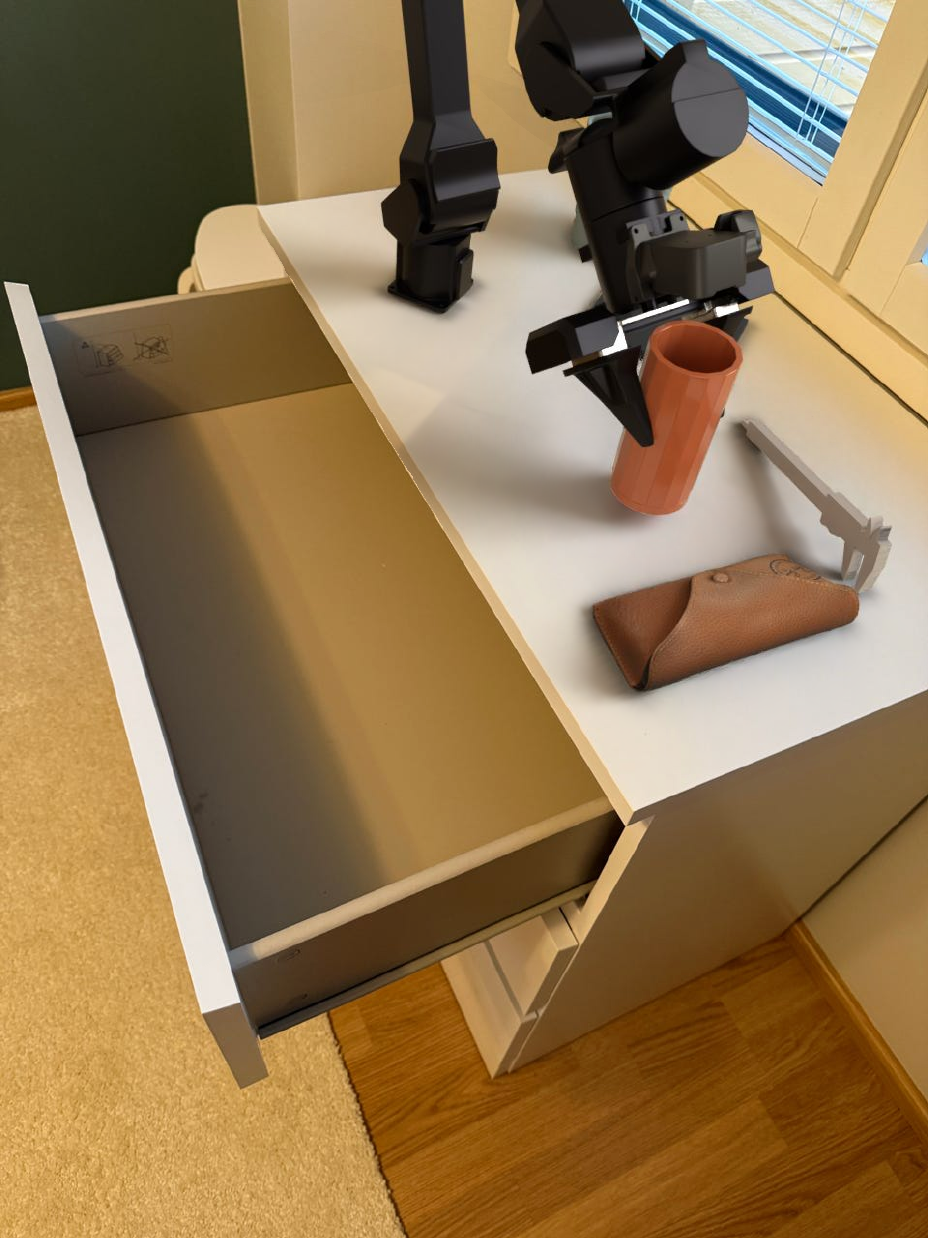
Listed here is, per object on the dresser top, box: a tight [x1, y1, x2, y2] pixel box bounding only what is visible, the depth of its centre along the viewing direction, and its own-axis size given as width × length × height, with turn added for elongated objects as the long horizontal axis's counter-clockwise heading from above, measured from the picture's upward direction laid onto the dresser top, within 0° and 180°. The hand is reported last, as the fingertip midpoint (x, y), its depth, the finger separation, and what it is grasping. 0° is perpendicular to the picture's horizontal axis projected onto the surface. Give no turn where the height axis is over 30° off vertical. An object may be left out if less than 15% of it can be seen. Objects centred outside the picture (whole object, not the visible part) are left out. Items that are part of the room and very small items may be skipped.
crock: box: [609, 320, 744, 516], centre depth 68 cm, size 6×6×13 cm
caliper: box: [740, 418, 893, 594], centre depth 74 cm, size 20×1×6 cm, turn 15°
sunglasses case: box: [592, 553, 860, 693], centre depth 66 cm, size 18×7×7 cm
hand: (683, 432), depth 67 cm, fingers closed on crock, 6 cm apart
